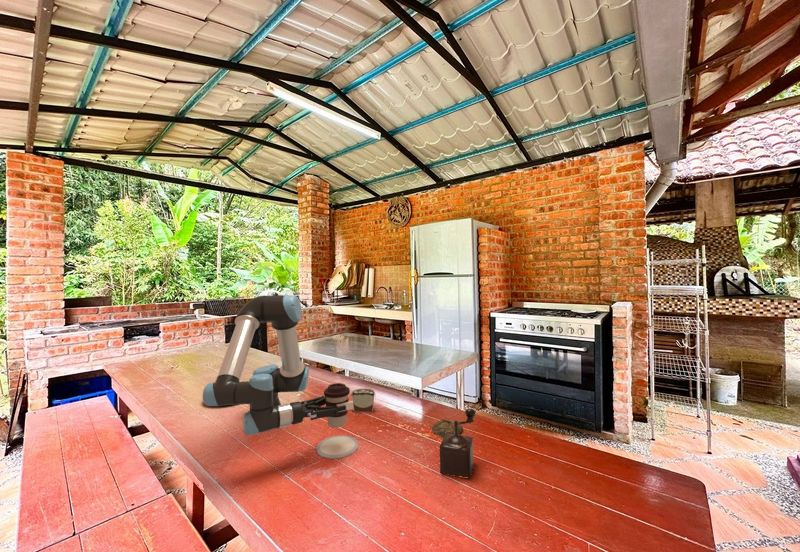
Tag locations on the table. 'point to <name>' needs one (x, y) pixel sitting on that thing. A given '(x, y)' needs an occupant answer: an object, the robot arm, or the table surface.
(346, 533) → the table surface
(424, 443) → the table surface
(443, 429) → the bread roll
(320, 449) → the saucer
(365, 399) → the food container
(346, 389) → the coffee cup
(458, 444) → the manual coffee grinder
